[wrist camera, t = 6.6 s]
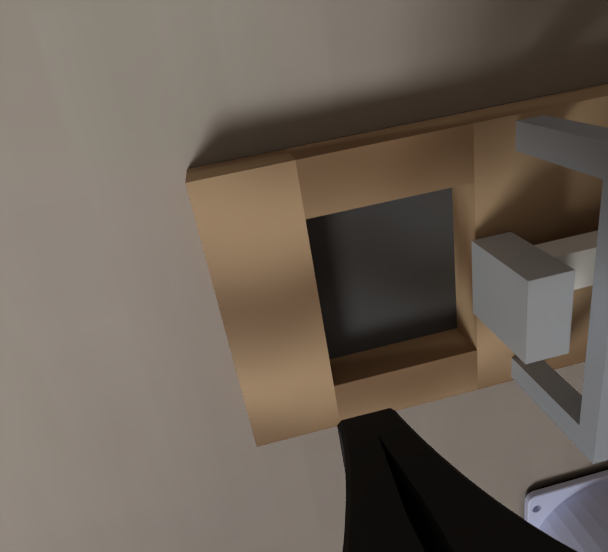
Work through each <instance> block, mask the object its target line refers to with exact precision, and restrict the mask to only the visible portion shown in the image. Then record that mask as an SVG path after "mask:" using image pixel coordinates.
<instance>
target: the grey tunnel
mask: <svg viewBox="0 0 608 552" xmlns="http://www.w3.org/2000/svg"><path fill="white" fill-rule="evenodd" d="M515 151H518V152H521V153H524V154H527V155H530V156H533V157H536V158H539V159H542V160H545V161H548V162H551V163H554V164H557V165H560V166H563V167H566V168H569V169H573V170H576V171H579V172H582V173H585V174H588V175H591V176H594V177H597V178H600V179H603V184H602V195H601V205H600V216H599V226H598V236H597V247H596V257H595V268H594V278H593V288H592V299H591V309H590V320H589V330H588V340H587V351H586V361H585V372H584V382H583V392H582V395H581V394H579V393H578V392H577V391H576V390H575V389H574V388H573V387H572V386H571V385H570V384H569V383H567V382H566V381H565V380H564V379H563V378H562V377H561V376H560V375H559V374H558V373H557V372H555V371H554V370H553V369H552V368H551V367H550V366H549V365H548V364H547V363H546V362H545V361H543V360H541V361H537V362H533V363H529V364H525V363H524V362H523V361H522V360H521V359H520V358H519V357H517V356H516V357H512V360H511V377H512V378H513V379H514V380H515V382H516V383H517V384H518V385H519V386H520V387H521V388H522V389H523V390H524V391H525V392H526V393H527V394H528V395H529V396H530V398H531V399H532V400H533V401H534V402H535V403H536V404H537V405H538V406H539V407H540V408H541V409H542V410H543V411H544V412H545V413H546V415H547V416H548V417H549V418H550V419H551V420H552V421H553V422H554V423H555V424H556V425H557V426H558V427H559V428H560V429H561V431H562V432H563V433H564V434H565V435H566V436H567V437H568V438H569V439H570V440H571V441H572V442H573V443H574V444H575V445H576V446H577V448H578V449H579V450H580V451H581V452H582V453H583V454H584V455H585V456H586V457H587V458H588V459H589V460H590V461H591V462H592V464H596V463H599V462H603V461H606V460H608V128H607V127H602V126H597V125H592V124H587V123H582V122H577V121H572V120H567V119H562V118H557V117H551V116H546V115H542V116H537V117H532V118H527V119H522V120H518V121H516V150H515Z"/></svg>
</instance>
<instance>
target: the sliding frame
mask: <svg viewBox="0 0 608 552" xmlns="http://www.w3.org/2000/svg"><path fill="white" fill-rule="evenodd" d="M597 236H598V230H597V231H593V232H588V233H584V234H580V235H576V236H571V237H567V238H563V239H559V240H554V241H550V242H546V243H541V244H537V245H532V244H531V243H529V242H527V241H526V240H524V239H522V238H521V237H519V236H517V235H516V234H514V233H512V232H507V233H503V234H498V235H494V236H490V237H485V238H481V239H477V240H472V289H473V313H474V314H475V315H476V316H477V317H478V318H479V319H480V320H481V321H482V322H483V323H484V324H485V325H486V326H487V327H488V328H489V329H490V330H491V331H492V332H493V333H494V334H495V335H496V336H497V337H498V338H499V339H500V340H501V341H502V342H503V343H504V344H505V345H506V346H507V347H508V348H509V349H510V350H511V351H512V352H513V353H514V354H515V355H516V356H517V357H519V358H520V359H521V360H522V361H523V362H524V363H525V364H529V363H533V362H537V361H541V360H544V359H548V358H552V357H556V356H560V355H564V354H568V353H569V344H570V332H571V319H572V306H573V293H574V290H576V289H580V288H584V287H588V286H592V285H593V278H594V268H595V257H596V247H597Z"/></svg>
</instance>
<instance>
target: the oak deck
mask: <svg viewBox="0 0 608 552" xmlns="http://www.w3.org/2000/svg"><path fill="white" fill-rule="evenodd" d="M542 115H546V116H551V117H557V118H562V119H567V120H572V121H577V122H582V123H587V124H592V125H597V126H602V127H607V128H608V83H607V84H602V85H597V86H592V87H587V88H582V89H577V90H573V91H568V92H563V93H558V94H553V95H548V96H543V97H538V98H533V99H528V100H523V101H519V102H514V103H509V104H504V105H499V106H494V107H489V108H484V109H479V110H474V111H469V112H464V113H460V114H455V115H450V116H445V117H440V118H435V119H430V120H425V121H420V122H415V123H410V124H406V125H401V126H396V127H391V128H386V129H381V130H376V131H371V132H366V133H361V134H356V135H352V136H347V137H342V138H337V139H332V140H327V141H322V142H317V143H312V144H307V145H302V146H298V147H293V148H288V149H283V150H278V151H273V152H268V153H263V154H258V155H253V156H248V157H244V158H239V159H234V160H229V161H224V162H219V163H214V164H209V165H204V166H199V167H194V168H190V169H187V174H186V182H185V183H186V187H187V191H188V194H189V198H190V202H191V205H192V209H193V213H194V216H195V220H196V224H197V227H198V231H199V235H200V239H201V242H202V246H203V250H204V253H205V257H206V261H207V264H208V268H209V272H210V276H211V279H212V283H213V287H214V290H215V294H216V298H217V301H218V305H219V309H220V312H221V316H222V320H223V324H224V327H225V331H226V335H227V338H228V342H229V346H230V349H231V353H232V357H233V360H234V364H235V368H236V372H237V375H238V379H239V383H240V386H241V390H242V394H243V397H244V401H245V405H246V409H247V412H248V416H249V420H250V423H251V427H252V431H253V434H254V438H255V442H256V445H257V447H258V446H262V445H266V444H269V443H273V442H277V441H281V440H285V439H289V438H293V437H296V436H300V435H304V434H308V433H312V432H316V431H319V430H323V429H327V428H331V427H335V426H337V425H338V424H339V422H340V421H341V420H344V419H348V418H352V417H356V416H360V415H364V414H368V413H372V412H376V411H380V410H383V409H387V408H391V409H393V410H395V411H397V410H400V409H404V408H408V407H412V406H416V405H420V404H423V403H427V402H431V401H435V400H439V399H443V398H447V397H450V396H454V395H458V394H462V393H466V392H470V391H474V390H477V389H481V388H485V387H489V386H493V385H497V384H500V383H504V382H508V381H512V380H514V379H513V378H512V377H511V360H512V357H516V355H515V354H514V353H513V352H512V351H511V350H510V349H509V348H508V347H507V346H506V345H505V344H504V343H503V342H502V341H501V340H500V339H499V338H498V337H497V336H496V335H495V334H494V333H493V332H492V331H491V330H490V329H489V328H488V327H487V326H486V325H485V324H484V323H483V322H482V321H481V320H480V319H479V318H478V317H477V316H476V315H475V314H474V313H473V289H472V240H477V239H481V238H485V237H490V236H494V235H498V234H503V233H507V232H512V233H514V234H516V235H517V236H519V237H521V238H522V239H524V240H526V241H527V242H529V243H531V244H532V245H537V244H541V243H546V242H550V241H554V240H559V239H563V238H567V237H571V236H576V235H580V234H584V233H588V232H593V231H597V230H598V226H599V216H600V205H601V195H602V184H603V179H600V178H597V177H594V176H591V175H588V174H585V173H582V172H579V171H576V170H573V169H569V168H566V167H563V166H560V165H557V164H554V163H551V162H548V161H545V160H542V159H539V158H536V157H533V156H530V155H527V154H524V153H521V152H518V151H515V150H516V121H518V120H522V119H527V118H532V117H537V116H542ZM592 288H593V285H592V286H588V287H584V288H580V289H576V290H574V293H573V306H572V319H571V332H570V344H569V353H568V354H564V355H560V356H556V357H552V358H548V359H544V360H543V361H545V362H546V363H547V364H548V365H549V366H550V367H551V368H552V369H553V370H554V369H558V368H562V367H566V366H570V365H574V364H578V363H581V362H585V361H586V351H587V340H588V330H589V320H590V309H591V299H592Z"/></svg>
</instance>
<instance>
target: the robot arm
mask: <svg viewBox="0 0 608 552" xmlns="http://www.w3.org/2000/svg"><path fill="white" fill-rule="evenodd" d="M337 427H338V433H339V438H340V444H341V450H342V456H343V462H344V467H345V473H346V512H345V532H344V544H343V552H608V470H605V471H602V472H598V473H595V474H591V475H588V476H584V477H581V478H577V479H574V480H570V481H566V482H563V483H559V484H556V485H552V486H549V487H545V488H542V489H538V490H535V491H532V492H530V493H529V494H527V496H526V498H525V513H524V519H523V518H521V517H520V516H518V515H517V514H515V513H514V512H512V511H511V510H509V509H508V508H506V507H505V506H504V505H502V504H501V503H499V502H498V501H497V500H495V499H494V498H493V497H491V496H490V495H488V494H487V493H486V492H485V491H483V490H482V489H481V488H479V487H478V486H477V485H476V484H474V483H473V482H472V481H470V480H469V479H468V478H467V477H465V476H464V475H463V474H462V473H461V472H459V471H458V470H457V469H456V468H455V467H453V466H452V465H451V464H450V463H449V462H448V461H447V460H445V459H444V458H443V457H442V456H441V455H440V454H438V453H437V452H436V451H435V450H434V449H433V448H432V447H431V446H430V445H429V444H427V443H426V442H425V441H424V440H423V439H422V438H421V437H420V436H419V435H418V434H417V433H416V432H415V431H414V430H413V429H412V428H411V427H410V426H409V425H408V424H407V423H406V422H405V421H404V420H403V419H402V418H401V417H400V416H399V415H398V413H397V412H396V411H395V410H393V409H391V408H387V409H383V410H380V411H376V412H372V413H368V414H364V415H360V416H356V417H352V418H348V419H344V420H341V421H340V422H339V424H338V425H337Z"/></svg>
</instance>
